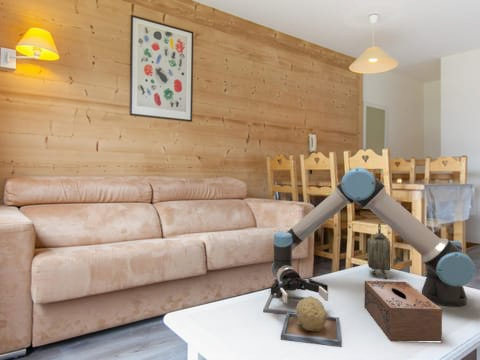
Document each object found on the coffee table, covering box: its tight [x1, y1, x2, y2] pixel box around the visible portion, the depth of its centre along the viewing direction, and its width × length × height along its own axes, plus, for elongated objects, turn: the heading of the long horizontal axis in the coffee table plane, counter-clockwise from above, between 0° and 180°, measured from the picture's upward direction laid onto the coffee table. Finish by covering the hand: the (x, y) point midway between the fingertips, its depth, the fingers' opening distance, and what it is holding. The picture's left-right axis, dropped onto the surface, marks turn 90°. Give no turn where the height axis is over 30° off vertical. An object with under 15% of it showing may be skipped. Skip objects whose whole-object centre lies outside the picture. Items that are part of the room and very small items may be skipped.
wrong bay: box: [262, 293, 306, 316], centre depth 127 cm, size 15×16×1 cm
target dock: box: [280, 312, 342, 348], centre depth 108 cm, size 17×17×1 cm
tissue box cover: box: [363, 280, 443, 342], centre depth 113 cm, size 26×14×10 cm, turn 176°
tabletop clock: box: [366, 223, 392, 280], centre depth 167 cm, size 14×9×25 cm, turn 164°
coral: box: [295, 295, 328, 331], centre depth 108 cm, size 10×10×10 cm
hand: (306, 297), depth 112 cm, fingers open, 13 cm apart
